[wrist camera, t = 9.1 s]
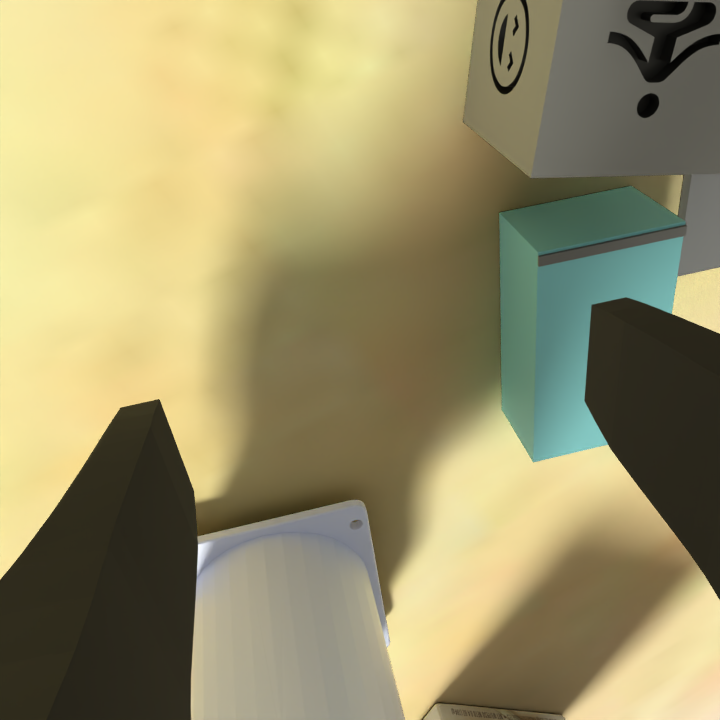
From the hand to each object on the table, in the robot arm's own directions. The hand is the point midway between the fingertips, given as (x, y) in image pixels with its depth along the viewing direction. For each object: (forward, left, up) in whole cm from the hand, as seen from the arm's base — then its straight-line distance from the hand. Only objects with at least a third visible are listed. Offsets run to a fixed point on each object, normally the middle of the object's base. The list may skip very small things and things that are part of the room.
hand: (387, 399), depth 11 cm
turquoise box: (-6, -8, -10) cm, 14 cm away
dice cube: (+3, -8, -11) cm, 14 cm away
